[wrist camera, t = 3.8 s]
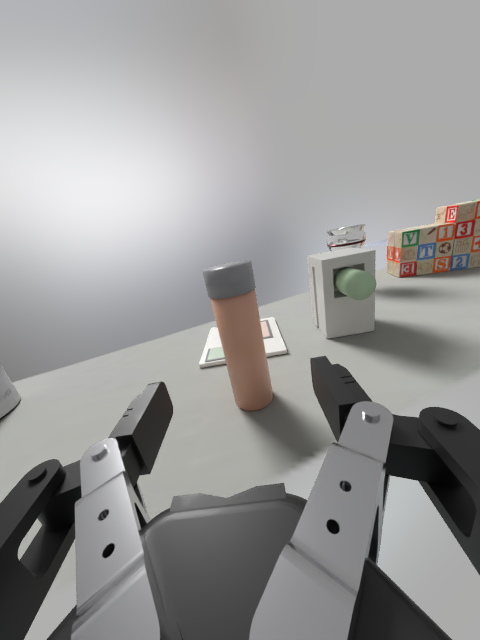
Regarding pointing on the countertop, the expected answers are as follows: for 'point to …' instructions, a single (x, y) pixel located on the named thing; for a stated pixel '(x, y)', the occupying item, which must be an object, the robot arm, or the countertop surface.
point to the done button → (354, 283)
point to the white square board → (270, 336)
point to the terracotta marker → (240, 332)
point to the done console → (340, 293)
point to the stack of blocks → (437, 243)
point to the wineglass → (346, 238)
